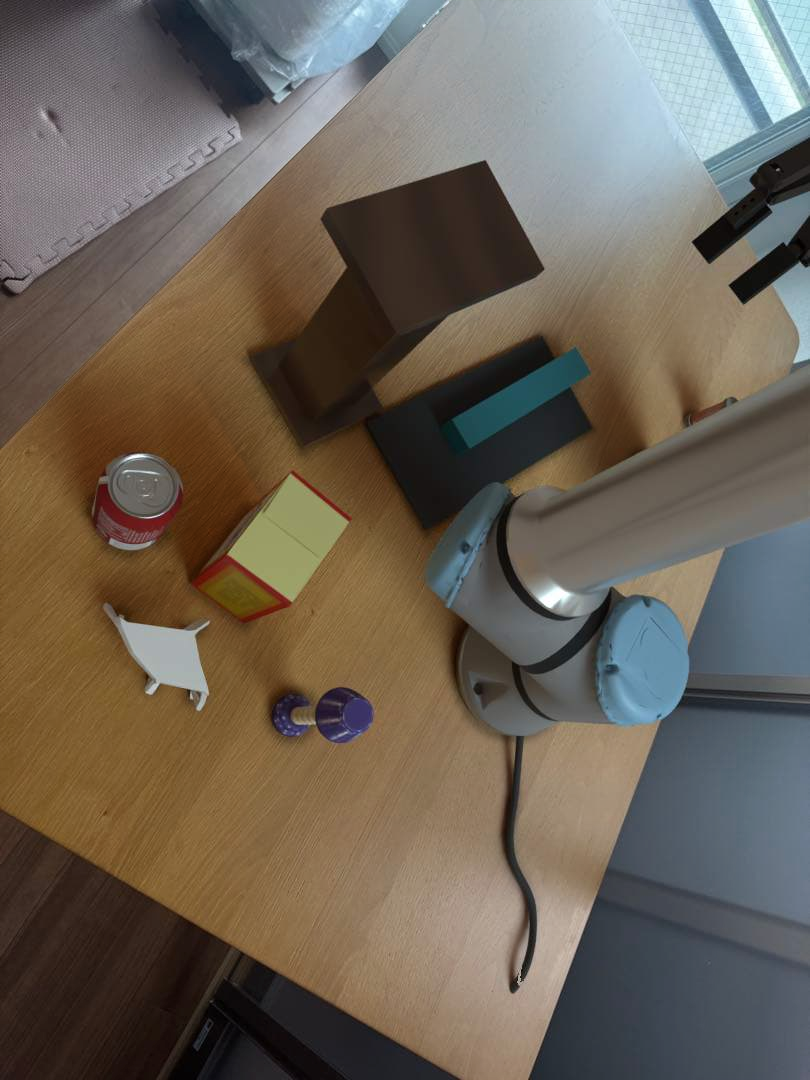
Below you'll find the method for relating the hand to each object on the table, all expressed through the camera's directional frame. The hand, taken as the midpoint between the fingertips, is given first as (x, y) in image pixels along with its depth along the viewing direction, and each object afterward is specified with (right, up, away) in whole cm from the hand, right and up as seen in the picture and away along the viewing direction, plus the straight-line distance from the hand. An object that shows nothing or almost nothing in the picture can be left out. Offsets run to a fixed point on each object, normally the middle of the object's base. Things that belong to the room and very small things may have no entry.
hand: (718, 276), depth 75 cm
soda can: (-59, -25, -5) cm, 64 cm away
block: (-19, -10, +17) cm, 27 cm away
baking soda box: (-49, -30, -1) cm, 57 cm away
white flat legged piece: (-56, -37, -6) cm, 68 cm away
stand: (-42, -10, +6) cm, 44 cm away
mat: (-22, -13, +16) cm, 30 cm away
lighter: (+11, -12, +32) cm, 36 cm away
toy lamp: (-43, -45, -2) cm, 62 cm away
